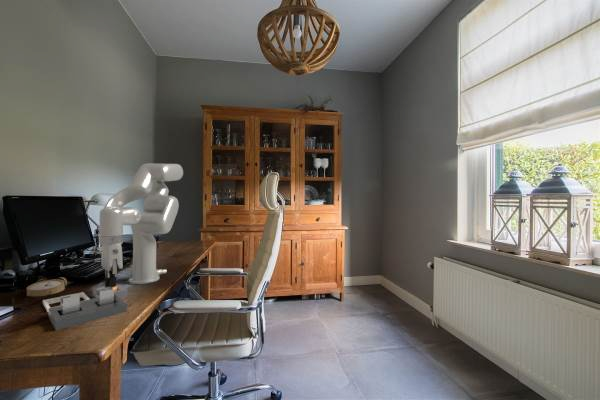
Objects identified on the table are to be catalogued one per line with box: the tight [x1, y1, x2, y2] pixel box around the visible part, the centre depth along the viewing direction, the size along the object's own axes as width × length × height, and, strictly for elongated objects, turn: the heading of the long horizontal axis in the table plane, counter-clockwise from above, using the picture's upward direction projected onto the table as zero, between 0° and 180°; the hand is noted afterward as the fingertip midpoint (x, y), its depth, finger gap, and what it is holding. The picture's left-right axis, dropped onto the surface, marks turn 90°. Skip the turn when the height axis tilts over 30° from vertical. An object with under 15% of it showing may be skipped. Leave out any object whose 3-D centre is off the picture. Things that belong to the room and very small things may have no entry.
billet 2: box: [96, 286, 114, 307], centre depth 93 cm, size 4×4×7 cm
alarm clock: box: [26, 276, 68, 297], centre depth 111 cm, size 11×5×15 cm
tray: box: [42, 291, 90, 313], centre depth 98 cm, size 12×12×2 cm
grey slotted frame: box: [48, 294, 128, 331], centre depth 89 cm, size 18×14×3 cm
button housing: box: [93, 284, 129, 299], centre depth 105 cm, size 9×9×3 cm
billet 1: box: [60, 293, 81, 316], centre depth 86 cm, size 4×4×7 cm
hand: (110, 287), depth 105 cm, fingers closed
